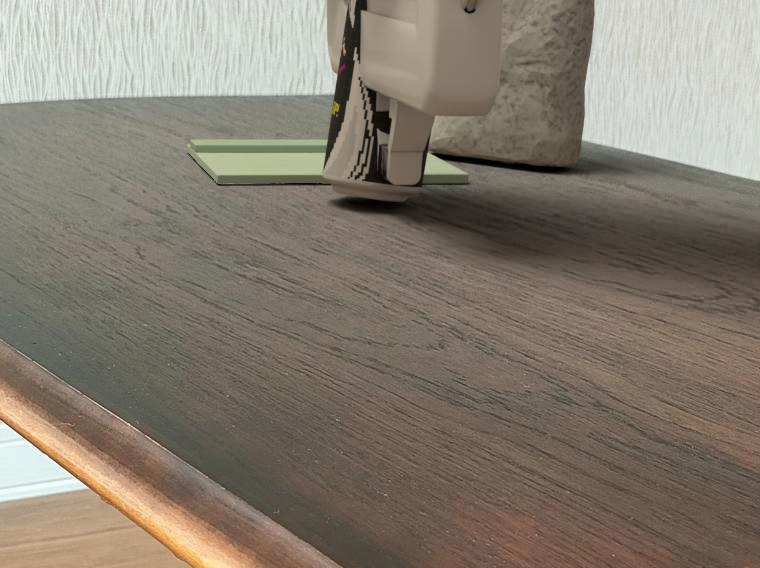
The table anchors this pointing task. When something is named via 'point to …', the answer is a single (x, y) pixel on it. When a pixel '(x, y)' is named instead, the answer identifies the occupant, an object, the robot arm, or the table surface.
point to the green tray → (286, 161)
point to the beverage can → (359, 127)
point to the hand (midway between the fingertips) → (396, 180)
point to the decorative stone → (531, 89)
